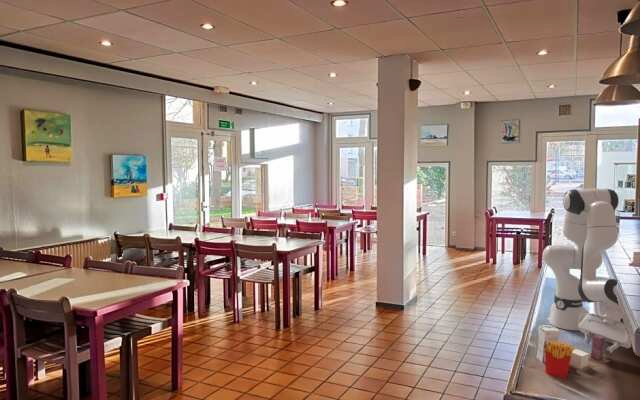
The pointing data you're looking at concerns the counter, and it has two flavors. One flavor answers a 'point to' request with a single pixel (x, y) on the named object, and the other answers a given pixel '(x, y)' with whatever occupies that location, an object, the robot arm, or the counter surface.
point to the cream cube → (579, 359)
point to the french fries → (558, 359)
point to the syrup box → (545, 340)
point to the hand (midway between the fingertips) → (597, 347)
